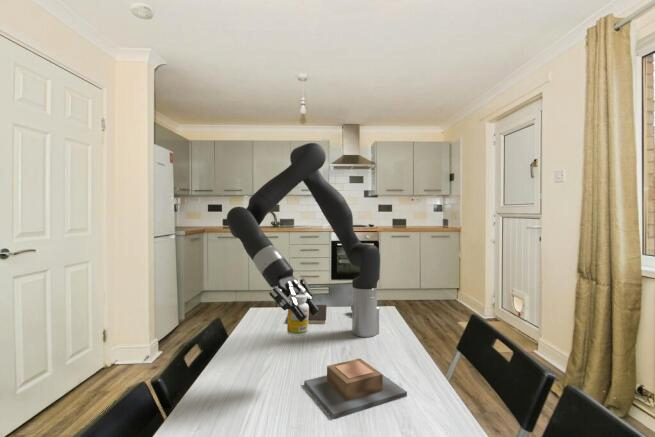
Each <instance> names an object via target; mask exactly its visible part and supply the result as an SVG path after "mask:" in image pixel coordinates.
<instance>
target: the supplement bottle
mask: <svg viewBox="0 0 655 437" xmlns="http://www.w3.org/2000/svg"><path fill="white" fill-rule="evenodd" d="M295 298H296V301H297V303H298V304H297V305H299V306H300V307H301V308H302V310H303V311H304V312H305V314H306V315H307V318H306V319H305V320H304V321H302V322H300V321H299V320H298V319H297V317H296V316H295V315H294V313H293V312H292V311H290V310H289V309H287V319H288V323H286V324H287V326H286V333H287V334H288V335H290V336H293V337H294V336H295V337H302V336H306V335H307V334H308V333H309V324H308V318H309V305H308V304H307V303H306V300H307V296H306V295H304V294H300V293H299V294H297V295H296V297H295Z"/></svg>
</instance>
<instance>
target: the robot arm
mask: <svg viewBox="0 0 655 437" xmlns="http://www.w3.org/2000/svg"><path fill="white" fill-rule="evenodd" d="M326 158H327V157H326V151H325V149H324V148H323V147H322V145H320V144H319V143H316V142H309V143H305V144H302V145H299V146H298V147H294V148H293V150H292V151H291V153H290V158H289V160H290V163H291V164H290V165H289V166H288V167H286V168H285V169H284V170H283V171H281V172H280V173H279V174H277V175H275V176H274V177H272V178H271V179H270V180H268V181H267V182H266V183H264V184H263V185H262V186H261V187H260V188H258V190H257V191H256V192H255V193H254V194H253V195H251V196H250V198H249V200H248V204H247V205H248V206H246V207H243V206H234V207H232V208H231V209H230V210H229V211H228V212H227V214H226V223H227V226H228V229H229V230H230V233H231V235H232V236H233V237H235V239H239V241H240V242H241V244H242V247H243V248H244V250H245V252H246V254H247V255H248V257H250V259H251V260H252V262H253V264H254V265H255V267H256V269H257V270H258V272H259V273H260V274H261V276H262V277H263V278H264V279H265V282H266V283H267V284H268V286H269V287H270V288H272V289H271V290H270V292H268V294H269V296H270V297H271V298H272V299H273V300H274V301H275V302H276V303H277V305H279V307H281V309H282V310H283V311H288V309H289V310H290V311H292V312H293V313H294V315H295V316H296V317H297V319H298V320H299V321H300V322H302V321H304V320H305V319H306V318H307V315H306V314H305V312H304V311H303V310H302V308H301V307H300V306H299V305H297V304H298V303H297V301H296V298H295V297H296V295H297V294H304V295H306V296H307V300H306V303H307V304H308V305H309V311H310V313H311V314H312V315H316V314H317V313H318V312H319V309H318V308H317V306H316V305H317V304H315V302H314V301H313V300H312V299H313V297H314V292H313V290H312V289H311V288H310V285H309V284H308V282H307V281H306V279H305V278H301V279H300V280H298V279H297V278H296V277H295V276H294V268H293V267H292V266H291V265H290V263H289V262H288V260H286V258H285V257H284V256H283V254H282V253H281V252H280V250H279V249H278V248H277V247H276V246H275V245H274V244H273V243H272V242H271V240H270V239H269V238H268V236H267V235H266V234H265V233H264V231H263V230H262V228H261V226H260V225H261V224H262V223H263V222H264V219H265V218H266V217H267V215H268V214H269V213H270V212H271V211H272V210H273V209H274V208H275V207H276V206H277V205H278V204H279V203H281V201H282V200H283V199H284V198H286V196H287V195H288V194H289V193H290V192H291V191H293V189H295V188H296V187H297V186H298V185H299V184H301V183H302V182H303V184H304V185H305V186H306V188H307V189H308V190H309V192H310V193H311V196H312V197H313V199H314V201H315V203H316V204H317V206H318V207H319V209H320V210H321V213H322V214H323V216H324V218H325V219H326V221H327V223H328V224H329V226H330V227H331V229H332V231H333V232H334V234H335V235H336V236H335V237H336V238H337V239H338V241H339V242H340V244H341V247H342V249H343V251H344V254H345V256H346V257H347V260H348V262H349V263H350V264H351V265H352V266H353V267H355V268H359V275H358V276H356V277H354V278H353V279H352V281H351V284H352V286H351V289H352V290H351V294H352V295H351V296H352V297H351V298H352V299H351V306H352V310H351V317H352V318H351V321H352V323H351V326H352V327H351V329H352V330H351V334H353V335H354V336H356V337H357V336H358V337H360V338H361V337H362V338H364V337H365V338H368V337H369V338H370V337H374V336H376V335H377V334H380V307H379V306H378V282H379V279H380V267H381V254H380V251H379V248H378V247H377V246H376V245H374V244H371V243H370V244H368V243H362V241H360V239H359V237H358V236H357V234H356V232H355V230H354V223H353V222H354V219H353V218H354V217H353V213H352V209H351V208H350V206H349V204H348V202H347V201H346V198H345V197H344V196H343V194H341V193H340V191H339V190H337V189H336V188H335V187H334V186H332V185H331V184H330V183H329V182H328V181H327V179H325V178H324V176H323V175H322V174H321V171H320V169H322V168H323V166H324V165H325V162H326ZM282 300H283V301H282Z"/></svg>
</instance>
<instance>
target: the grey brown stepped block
mask: <svg viewBox="0 0 655 437" xmlns="http://www.w3.org/2000/svg"><path fill="white" fill-rule="evenodd" d="M303 384H304V386H305V387H306V388H307V390H308V391H309V392H310V393H311V394H312V396H313V397H315V399H316V401H317V402H319V404H320V405H321V406H322V407H323V408H324V410H326V411H327V413H328V414H329V416H330V417H332V419H333V420H334V419H337V418H338V419H339V418H341V417H344V416H347V415H350V414H353V413H357V412H360V411H363V410H366V409H370V408H372V407H376V406H379V405H382V404H385V403H388V402H393V401H396V400H398V399H401V398H404V397H407V396H408V391H406V389H404V388H403V387H401V386H400V385H398V384H397V383H395V382H394V381H393V380H391V379H390V378H388V377H387V376H385V375H384V374H383V373H381V372H380V371H379V370H377V369H376V368H375V367H373V366H371V365H370V364H369V363H368V362H366V361H364V359H362V358H356V359H352V360H351V359H350V360H348V361H342V362H338V363H334V364H329V365H327V366H326V374H325V375H321V376H318V377H313V378H311V379H310V378H309V379H306V380H304V381H303Z"/></svg>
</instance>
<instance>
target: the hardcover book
mask: <svg viewBox="0 0 655 437" xmlns="http://www.w3.org/2000/svg"><path fill="white" fill-rule="evenodd" d="M315 305H316V306H317V308H318V309H319V312H318V313H317V314H316V315H312V314H311V313H310V311H309V318H308V325H309V324H317V325H318V324H319V325H320V324H322V325H325V324H326V320H327V308H328V307H327V304H315ZM286 324H288V318H287V319H286Z"/></svg>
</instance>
